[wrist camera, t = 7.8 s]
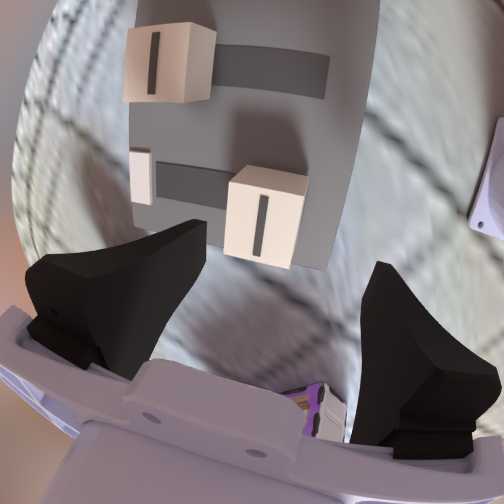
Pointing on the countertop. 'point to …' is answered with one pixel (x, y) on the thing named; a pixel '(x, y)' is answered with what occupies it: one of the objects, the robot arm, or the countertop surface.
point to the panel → (258, 113)
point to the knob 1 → (169, 63)
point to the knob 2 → (264, 215)
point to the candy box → (321, 411)
